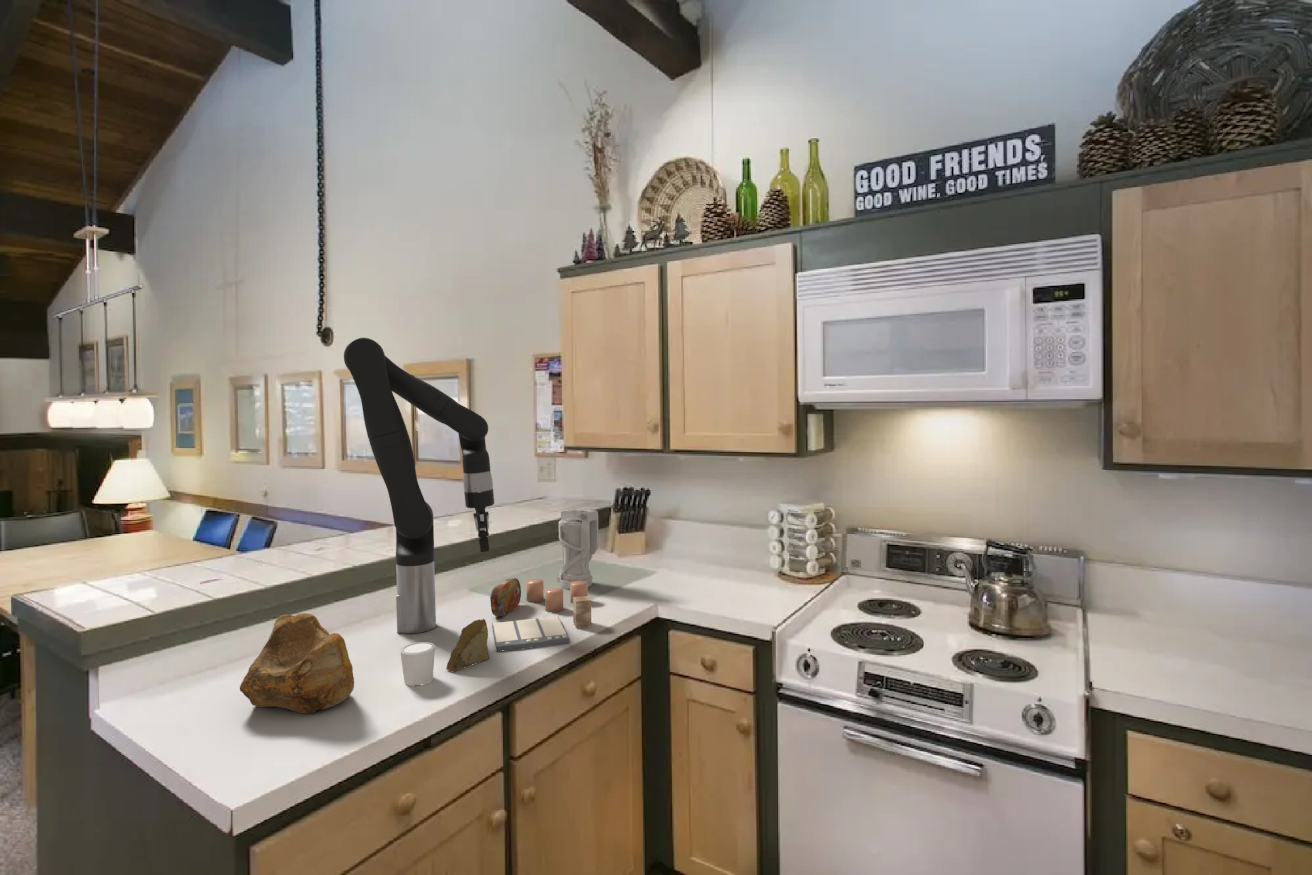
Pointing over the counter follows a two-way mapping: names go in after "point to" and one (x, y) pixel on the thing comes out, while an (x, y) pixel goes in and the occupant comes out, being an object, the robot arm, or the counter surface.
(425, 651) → the white cup
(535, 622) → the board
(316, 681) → the brown rough lump
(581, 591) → the cylinder
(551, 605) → the peach dome knob
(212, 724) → the counter surface
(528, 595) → the peach rounded cylinder
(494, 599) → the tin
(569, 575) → the lantern
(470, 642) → the rock
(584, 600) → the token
